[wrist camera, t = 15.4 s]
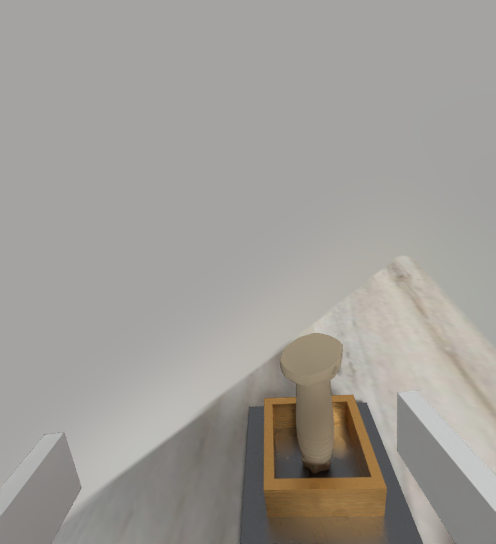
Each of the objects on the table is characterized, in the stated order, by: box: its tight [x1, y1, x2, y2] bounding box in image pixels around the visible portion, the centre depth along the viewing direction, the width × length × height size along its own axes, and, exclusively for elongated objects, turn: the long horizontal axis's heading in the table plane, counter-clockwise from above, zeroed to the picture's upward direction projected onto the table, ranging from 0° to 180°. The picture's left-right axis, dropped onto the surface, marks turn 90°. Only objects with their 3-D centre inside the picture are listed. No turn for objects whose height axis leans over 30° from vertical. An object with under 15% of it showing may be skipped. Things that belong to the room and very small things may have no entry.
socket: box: [240, 395, 423, 544], centre depth 33 cm, size 16×16×5 cm
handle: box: [280, 333, 343, 474], centre depth 31 cm, size 5×6×15 cm
